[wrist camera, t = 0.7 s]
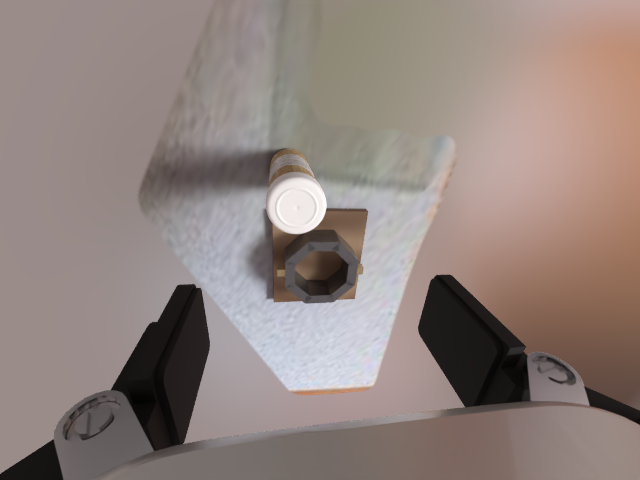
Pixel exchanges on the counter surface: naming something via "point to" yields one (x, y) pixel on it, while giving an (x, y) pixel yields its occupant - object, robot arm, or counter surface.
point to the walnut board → (320, 262)
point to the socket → (319, 288)
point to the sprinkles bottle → (294, 194)
